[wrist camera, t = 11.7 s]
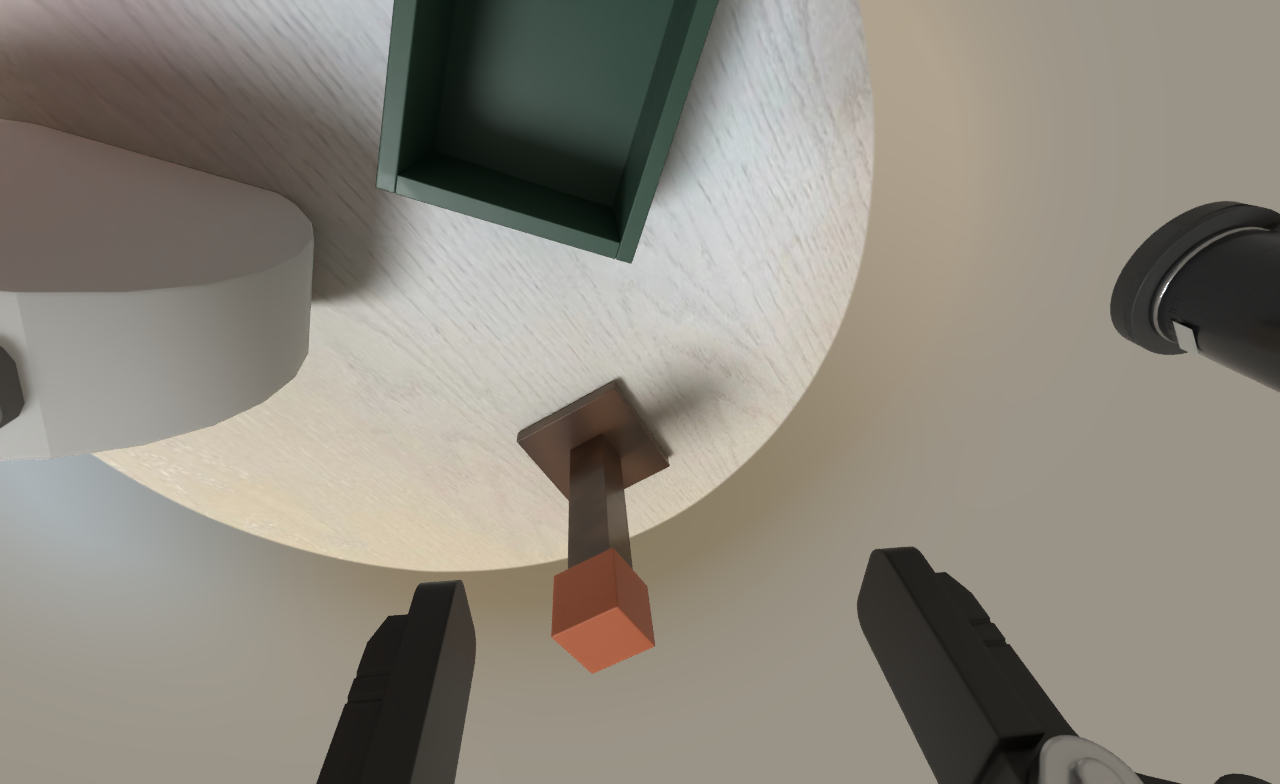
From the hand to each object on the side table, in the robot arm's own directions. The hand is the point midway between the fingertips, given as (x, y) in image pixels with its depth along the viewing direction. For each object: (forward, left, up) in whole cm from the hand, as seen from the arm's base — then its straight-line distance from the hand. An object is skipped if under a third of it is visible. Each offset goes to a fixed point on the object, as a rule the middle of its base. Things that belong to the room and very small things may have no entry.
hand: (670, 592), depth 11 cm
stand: (+10, +15, -30) cm, 35 cm away
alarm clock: (+23, -14, -30) cm, 41 cm away
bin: (-3, -10, -30) cm, 32 cm away
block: (+10, +15, -16) cm, 25 cm away
